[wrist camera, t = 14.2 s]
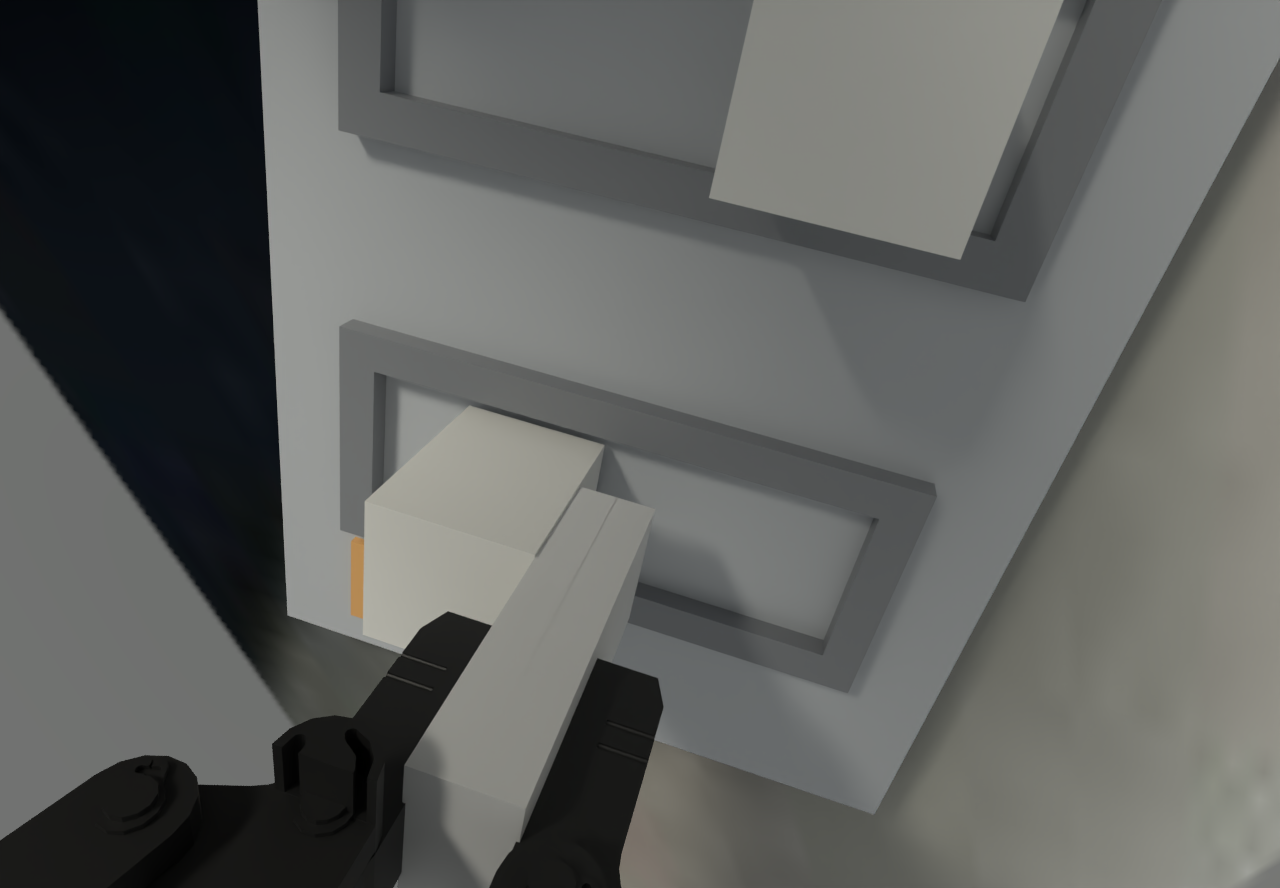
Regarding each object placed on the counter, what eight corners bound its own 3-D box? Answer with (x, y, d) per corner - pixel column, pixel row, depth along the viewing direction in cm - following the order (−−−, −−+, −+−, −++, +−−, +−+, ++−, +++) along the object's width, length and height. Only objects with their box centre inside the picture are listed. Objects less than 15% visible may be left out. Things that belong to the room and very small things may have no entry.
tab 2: (748, 158, 13) (708, 197, 9) (800, -54, 11) (776, -103, 8) (930, 202, 12) (960, 259, 9) (1008, -13, 11) (1080, -43, 7)
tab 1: (459, 520, 18) (362, 634, 14) (469, 405, 16) (364, 501, 13) (583, 559, 17) (514, 686, 14) (604, 444, 16) (535, 555, 12)
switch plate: (321, 582, 22) (275, 626, 20) (298, -555, 11) (198, -665, 10) (872, 765, 20) (874, 832, 18) (1467, -405, 9) (1606, -507, 8)
